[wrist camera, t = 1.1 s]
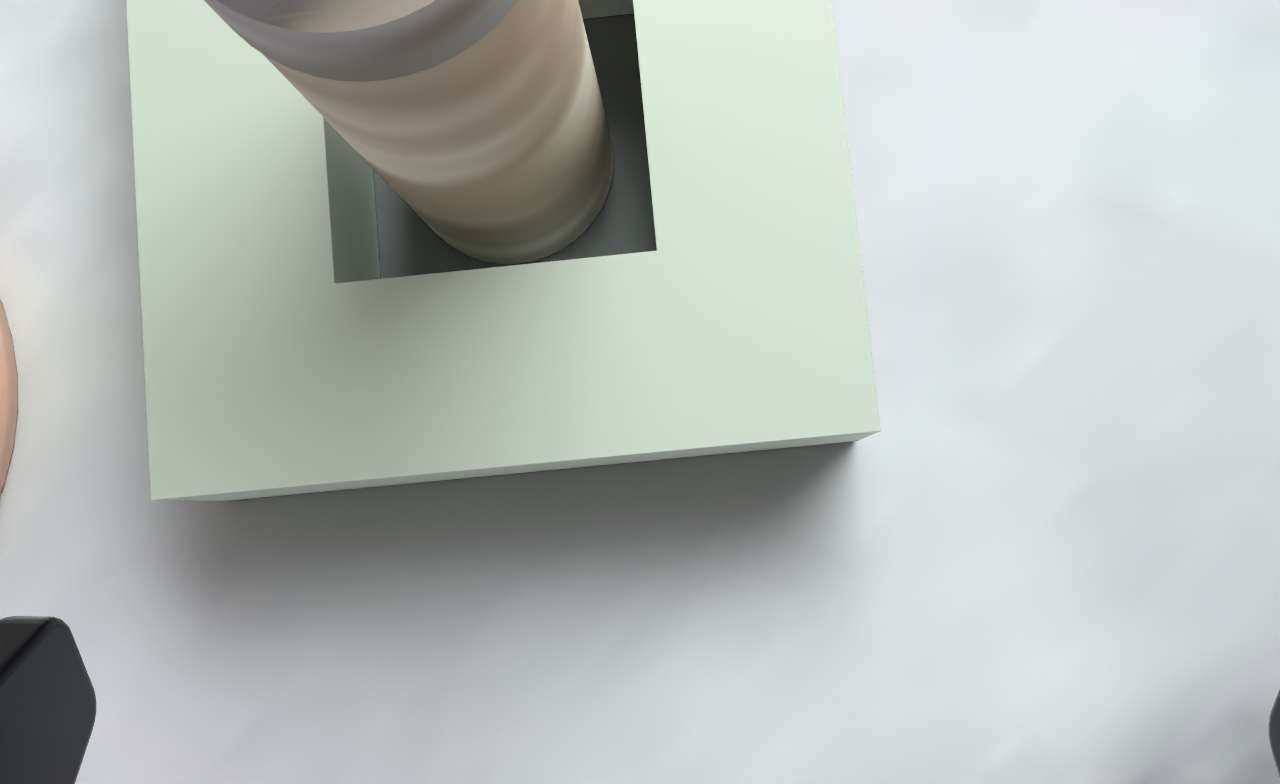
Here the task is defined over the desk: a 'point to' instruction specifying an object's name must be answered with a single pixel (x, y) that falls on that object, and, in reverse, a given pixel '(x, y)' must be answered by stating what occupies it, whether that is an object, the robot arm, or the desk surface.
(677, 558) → the desk surface
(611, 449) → the socket block
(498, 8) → the beige cylinder
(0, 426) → the terracotta coaster
